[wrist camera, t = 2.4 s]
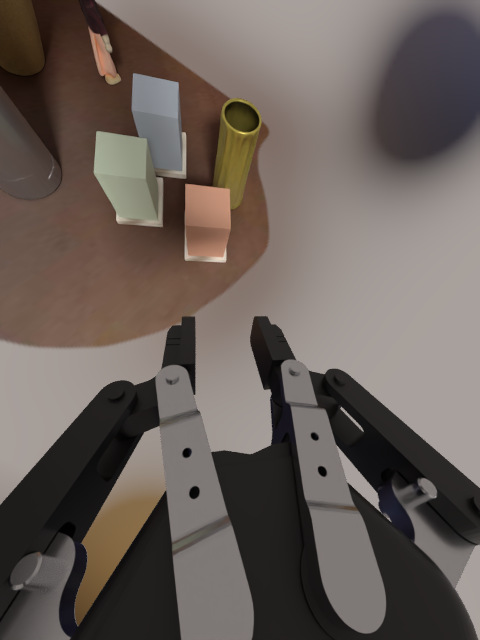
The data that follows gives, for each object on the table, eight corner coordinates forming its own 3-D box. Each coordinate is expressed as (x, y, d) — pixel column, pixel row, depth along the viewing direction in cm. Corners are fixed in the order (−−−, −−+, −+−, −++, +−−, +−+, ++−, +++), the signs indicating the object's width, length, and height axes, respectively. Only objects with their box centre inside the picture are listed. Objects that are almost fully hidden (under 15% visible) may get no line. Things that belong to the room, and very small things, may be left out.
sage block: (119, 217, 35) (93, 172, 26) (121, 184, 36) (96, 130, 27) (158, 220, 36) (145, 179, 27) (158, 188, 37) (146, 138, 28)
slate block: (147, 166, 37) (131, 110, 28) (148, 137, 38) (133, 73, 29) (182, 171, 38) (178, 118, 30) (182, 142, 39) (178, 82, 30)
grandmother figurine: (88, 64, 39) (37, -69, 27) (106, 57, 40) (66, -75, 28) (115, 96, 39) (78, -21, 27) (133, 88, 40) (105, -28, 28)
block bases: (116, 257, 35) (114, 254, 34) (122, 127, 38) (120, 122, 37) (225, 262, 39) (226, 260, 38) (222, 143, 42) (222, 138, 41)
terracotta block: (188, 255, 36) (185, 225, 28) (188, 223, 37) (185, 183, 28) (223, 257, 37) (230, 228, 29) (222, 225, 38) (229, 189, 30)
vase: (225, 175, 41) (239, 86, 27) (248, 197, 42) (274, 120, 28) (204, 193, 40) (207, 110, 26) (228, 216, 40) (244, 145, 26)
